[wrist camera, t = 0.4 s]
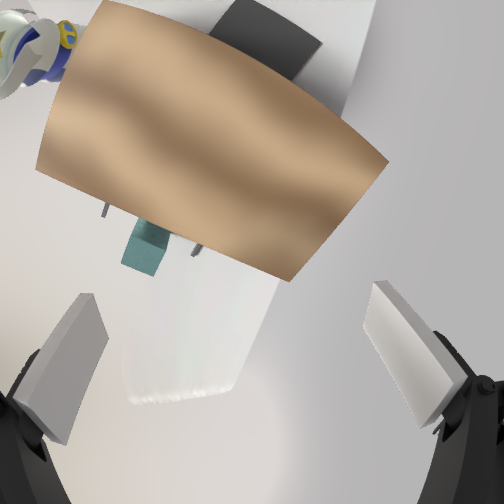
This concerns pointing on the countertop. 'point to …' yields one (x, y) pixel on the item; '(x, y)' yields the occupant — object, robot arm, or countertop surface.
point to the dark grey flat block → (265, 37)
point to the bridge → (203, 141)
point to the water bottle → (34, 50)
